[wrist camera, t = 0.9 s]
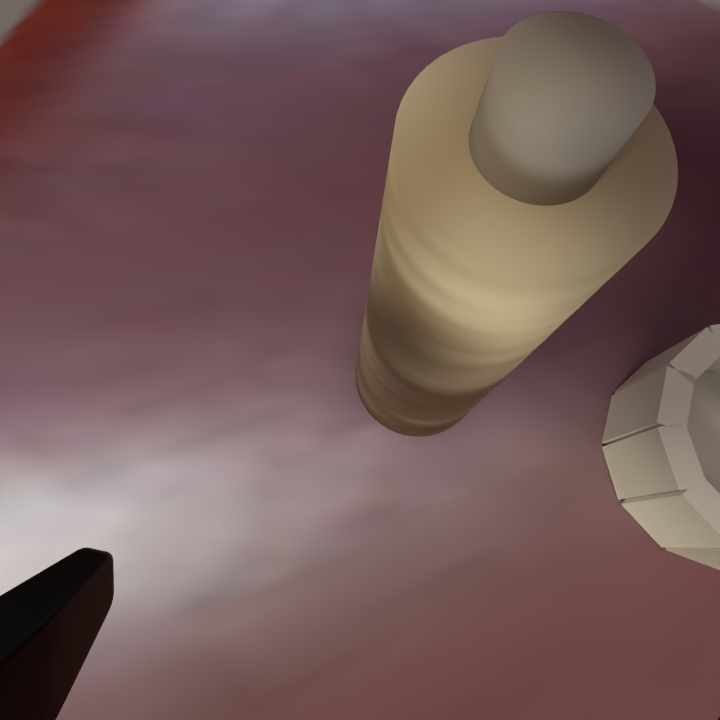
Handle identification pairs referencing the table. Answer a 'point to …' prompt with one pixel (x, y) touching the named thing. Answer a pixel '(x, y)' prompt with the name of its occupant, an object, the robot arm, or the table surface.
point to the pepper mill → (507, 209)
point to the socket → (671, 447)
